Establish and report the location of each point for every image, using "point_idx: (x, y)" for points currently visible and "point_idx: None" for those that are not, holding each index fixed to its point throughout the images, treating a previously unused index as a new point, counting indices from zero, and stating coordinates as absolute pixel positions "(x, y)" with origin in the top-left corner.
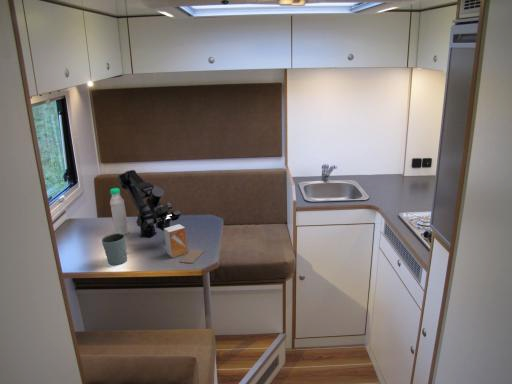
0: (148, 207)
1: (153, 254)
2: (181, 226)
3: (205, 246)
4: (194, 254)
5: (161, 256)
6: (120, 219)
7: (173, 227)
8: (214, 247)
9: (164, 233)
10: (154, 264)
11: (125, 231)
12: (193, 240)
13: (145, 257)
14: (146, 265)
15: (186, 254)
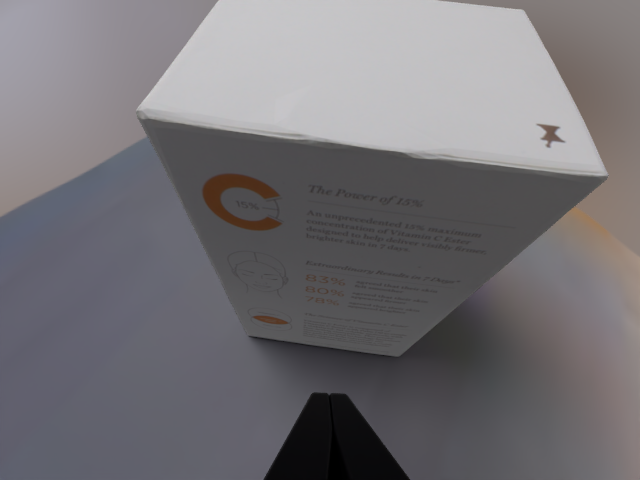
0: None
1: (520, 468)
2: (234, 15)
3: (111, 226)
4: None
5: (461, 350)
6: None
7: (380, 62)
8: (100, 172)
9: (522, 245)
10: (543, 270)
11: None
12: (16, 430)
13: (612, 469)
14: (605, 302)
15: None
